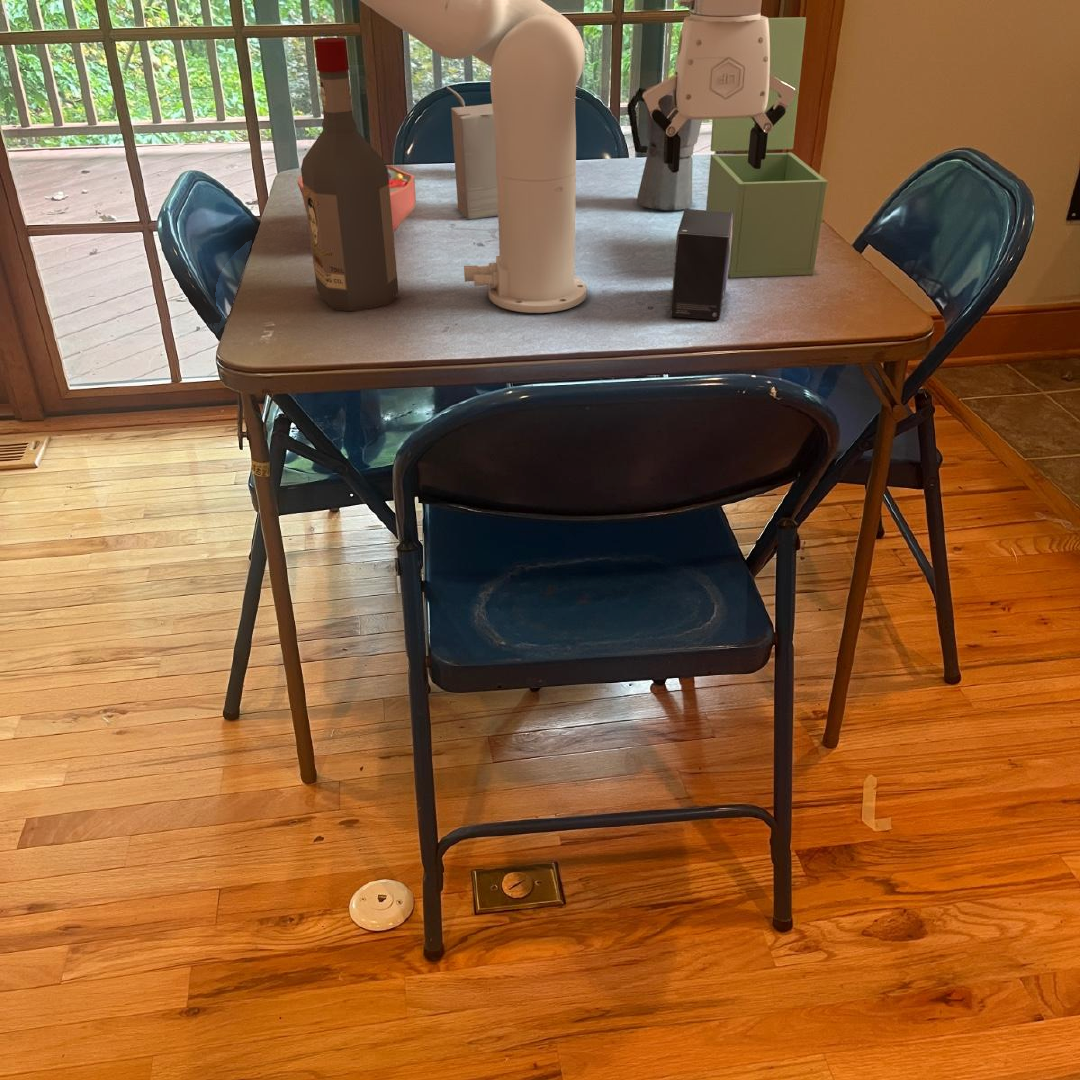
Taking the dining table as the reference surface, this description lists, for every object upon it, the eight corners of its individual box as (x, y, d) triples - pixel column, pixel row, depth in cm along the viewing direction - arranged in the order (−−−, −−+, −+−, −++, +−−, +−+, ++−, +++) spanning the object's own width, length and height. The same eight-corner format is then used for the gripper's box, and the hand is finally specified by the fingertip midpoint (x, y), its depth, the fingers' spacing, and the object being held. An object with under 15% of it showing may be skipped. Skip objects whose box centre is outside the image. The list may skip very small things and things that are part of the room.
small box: (722, 322, 121) (731, 235, 116) (668, 318, 122) (674, 232, 117) (727, 291, 130) (735, 209, 124) (676, 288, 131) (682, 207, 125)
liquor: (380, 281, 134) (355, 32, 117) (404, 303, 127) (382, 42, 111) (313, 292, 131) (279, 37, 114) (334, 315, 124) (301, 48, 107)
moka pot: (718, 204, 163) (731, 70, 152) (645, 220, 156) (652, 81, 145) (680, 191, 170) (689, 62, 158) (608, 206, 163) (612, 72, 151)
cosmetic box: (504, 204, 164) (502, 100, 155) (517, 216, 158) (515, 109, 149) (454, 209, 162) (449, 104, 153) (465, 221, 156) (460, 113, 147)
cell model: (306, 261, 141) (294, 178, 134) (304, 220, 157) (293, 145, 151) (425, 253, 144) (420, 171, 137) (411, 213, 160) (406, 139, 154)
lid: (806, 17, 132) (804, 17, 133) (720, 19, 132) (718, 19, 132) (793, 149, 140) (791, 148, 141) (711, 151, 140) (710, 150, 140)
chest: (813, 274, 135) (827, 181, 128) (729, 278, 134) (738, 183, 127) (780, 239, 148) (791, 152, 141) (703, 241, 147) (710, 154, 140)
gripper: (653, 9, 104) (646, 179, 113) (815, 4, 105) (795, 173, 115) (640, 1, 110) (634, 163, 120) (794, -4, 111) (776, 157, 121)
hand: (713, 168), depth 117 cm, fingers open, 9 cm apart
